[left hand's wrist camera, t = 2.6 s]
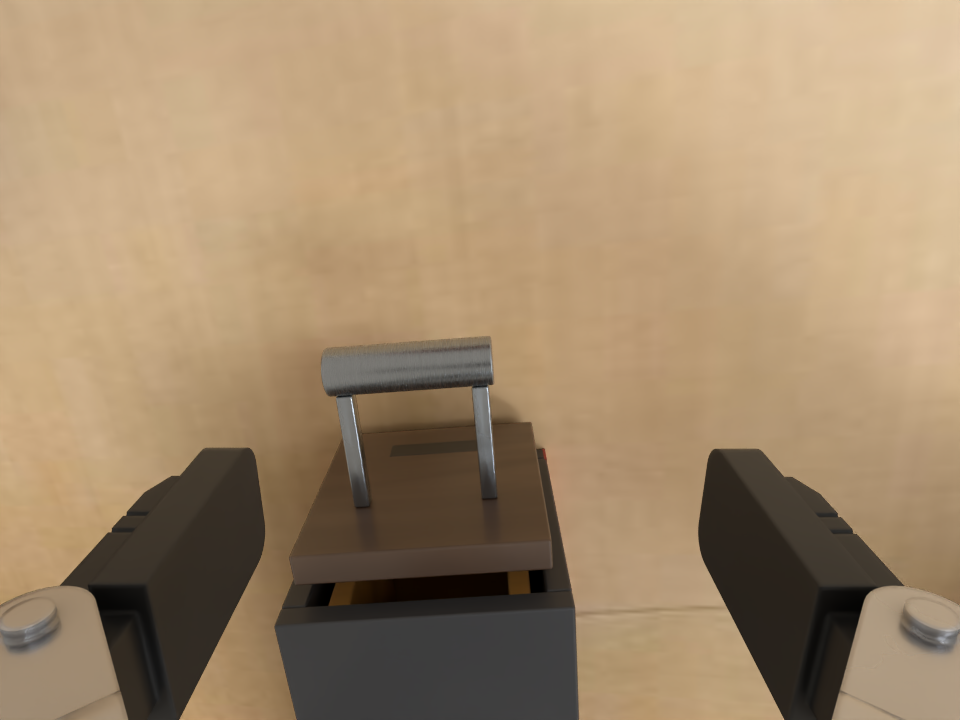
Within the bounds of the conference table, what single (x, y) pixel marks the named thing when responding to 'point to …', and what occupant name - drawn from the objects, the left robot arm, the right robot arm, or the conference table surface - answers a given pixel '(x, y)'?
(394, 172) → the conference table surface
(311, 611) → the cabinet
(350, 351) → the drawer
